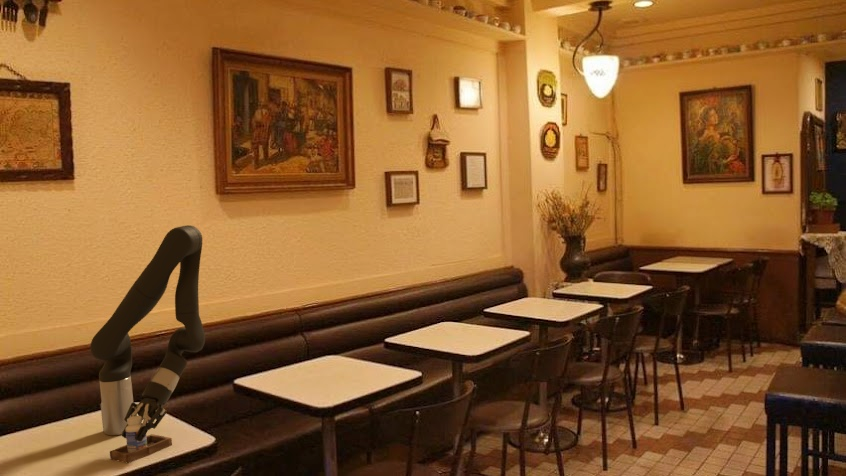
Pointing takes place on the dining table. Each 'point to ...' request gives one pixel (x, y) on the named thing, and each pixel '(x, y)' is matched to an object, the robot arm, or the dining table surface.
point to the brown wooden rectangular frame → (128, 457)
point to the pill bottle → (134, 434)
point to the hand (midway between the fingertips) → (131, 438)
